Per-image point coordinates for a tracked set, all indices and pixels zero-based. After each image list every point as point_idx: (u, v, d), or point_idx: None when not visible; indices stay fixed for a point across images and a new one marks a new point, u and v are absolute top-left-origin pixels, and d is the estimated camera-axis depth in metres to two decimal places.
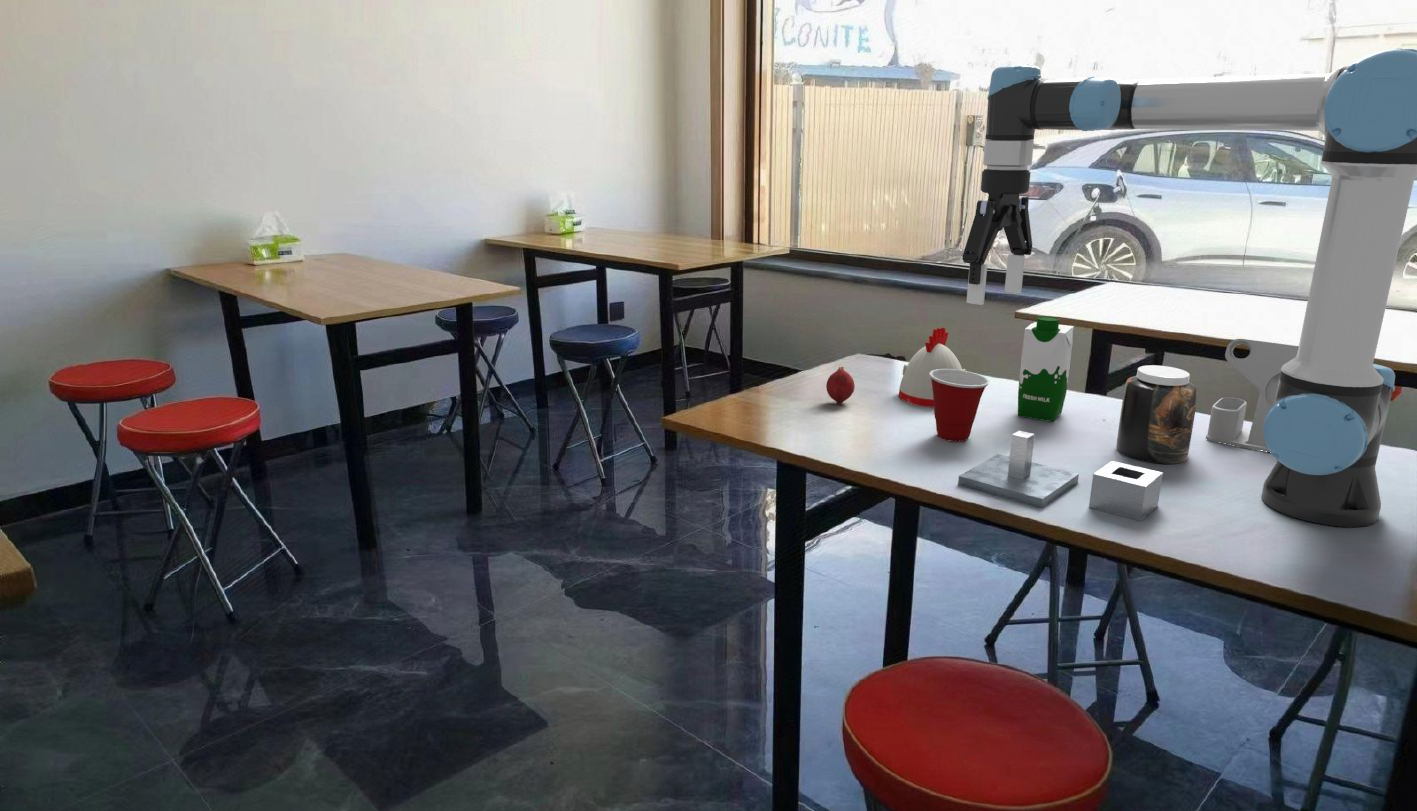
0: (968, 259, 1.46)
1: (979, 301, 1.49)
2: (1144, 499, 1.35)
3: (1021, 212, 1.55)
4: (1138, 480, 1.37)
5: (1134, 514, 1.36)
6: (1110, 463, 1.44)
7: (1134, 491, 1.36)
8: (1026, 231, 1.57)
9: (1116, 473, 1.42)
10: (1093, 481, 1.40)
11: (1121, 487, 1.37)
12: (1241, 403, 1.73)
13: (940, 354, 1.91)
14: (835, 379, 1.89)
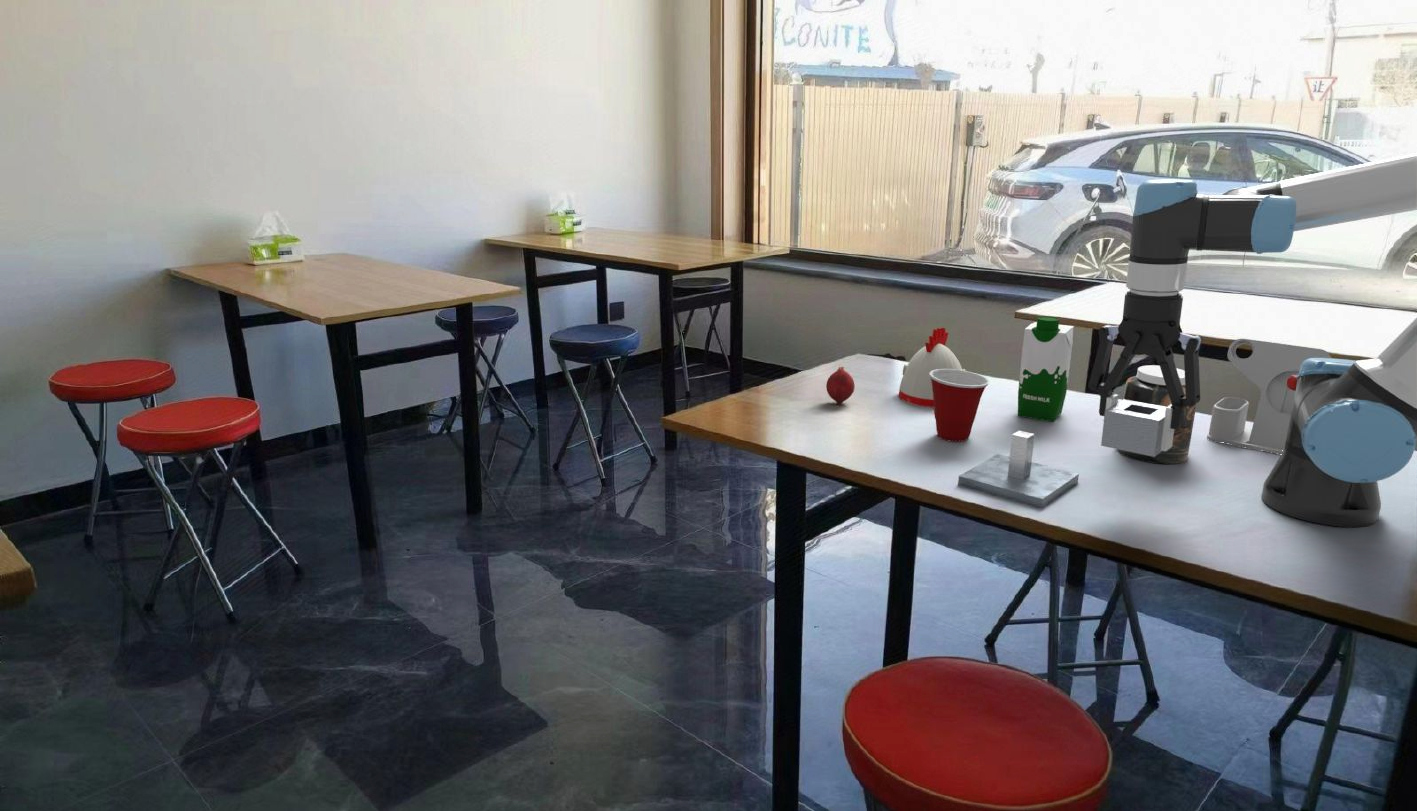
0: None
1: None
2: (1158, 434, 1.32)
3: None
4: (1151, 415, 1.34)
5: (1148, 450, 1.33)
6: (1122, 401, 1.40)
7: (1147, 426, 1.32)
8: (1185, 379, 1.30)
9: (1128, 410, 1.38)
10: (1105, 418, 1.36)
11: (1133, 422, 1.34)
12: (1243, 403, 1.73)
13: (940, 354, 1.91)
14: (835, 379, 1.89)
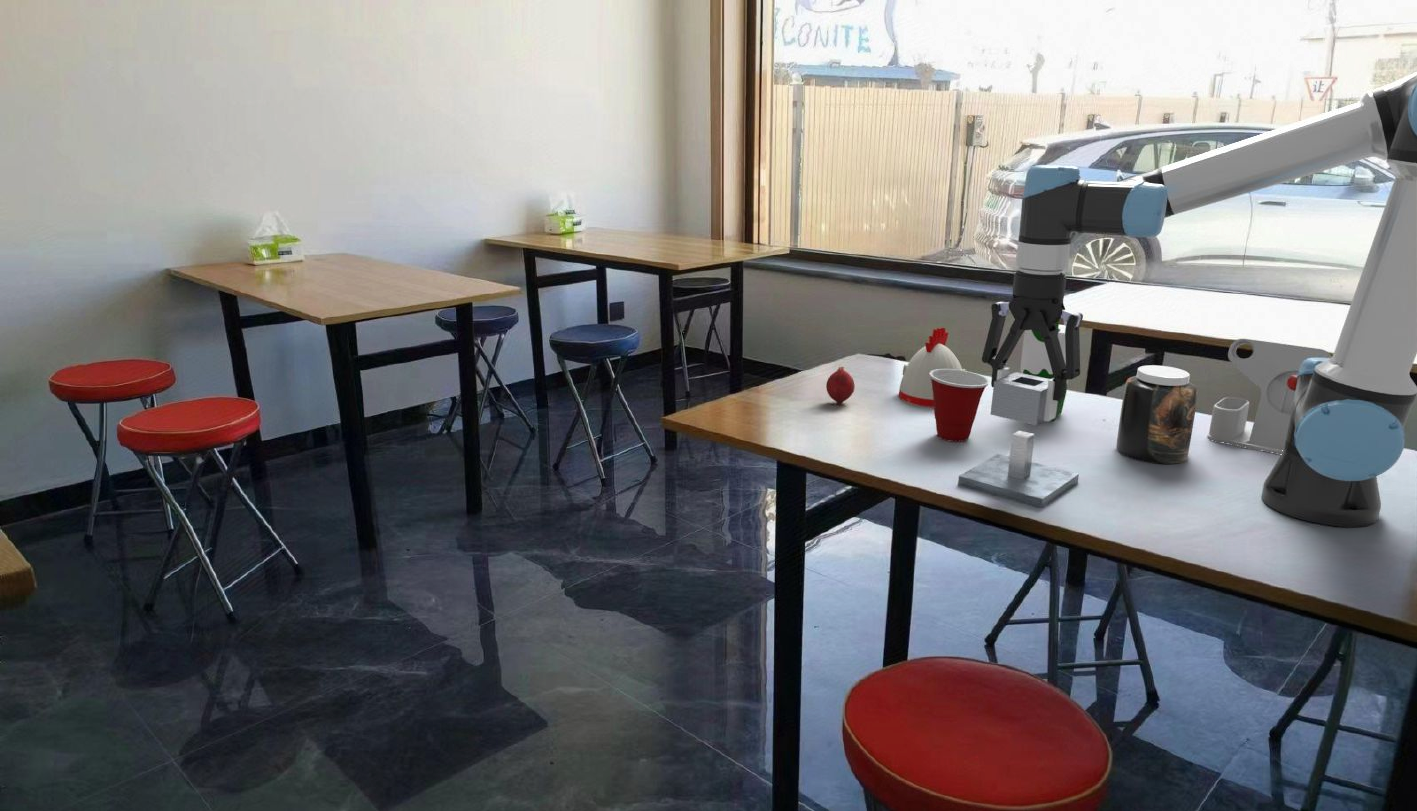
0: None
1: None
2: (1040, 404, 1.41)
3: None
4: (1035, 386, 1.42)
5: (1031, 419, 1.42)
6: (1013, 374, 1.49)
7: (1031, 396, 1.41)
8: (1066, 353, 1.39)
9: (1017, 382, 1.47)
10: (994, 388, 1.45)
11: (1019, 393, 1.42)
12: (1244, 403, 1.73)
13: (940, 354, 1.91)
14: (835, 379, 1.89)
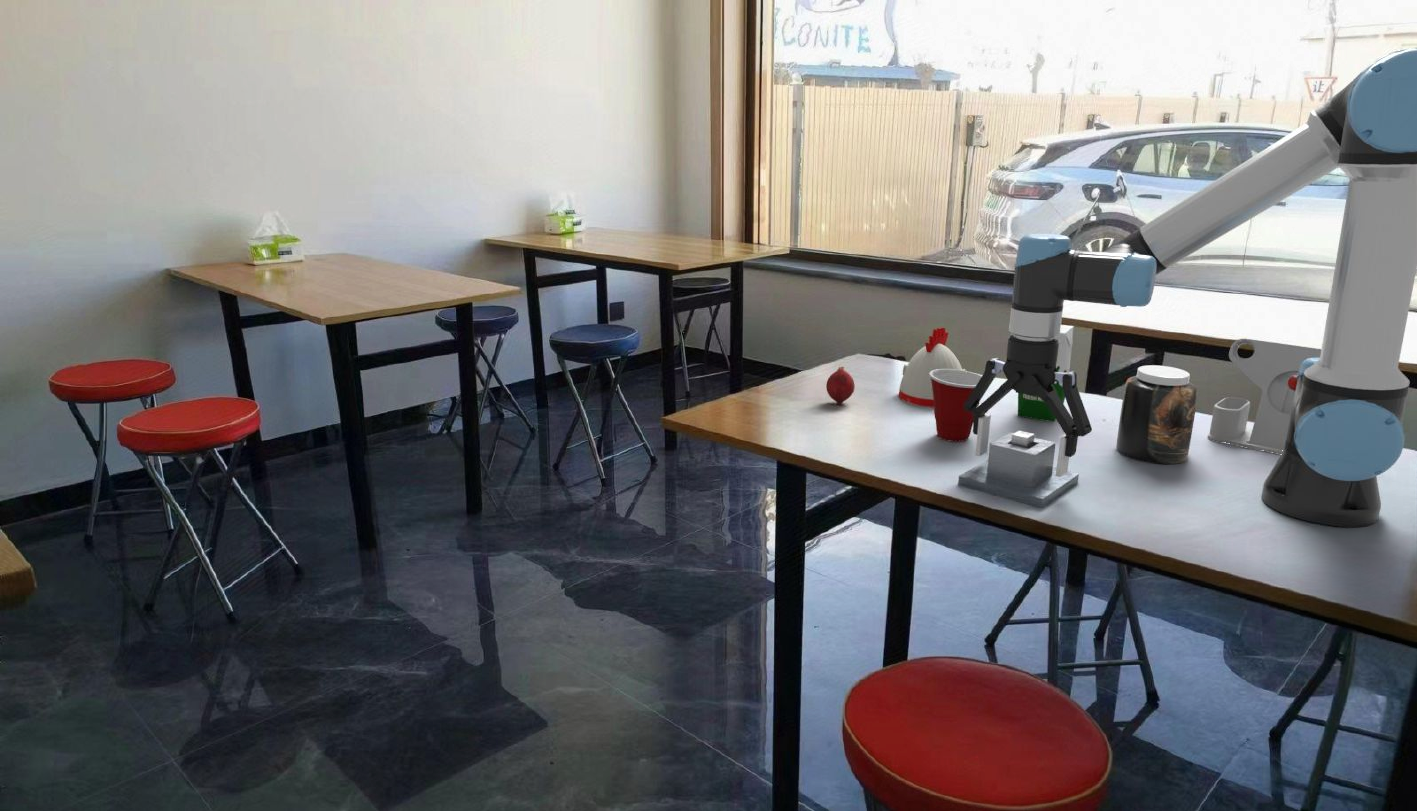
0: None
1: None
2: (1035, 467, 1.44)
3: None
4: (1030, 449, 1.45)
5: (1026, 481, 1.45)
6: (1008, 434, 1.52)
7: (1025, 459, 1.44)
8: (1071, 412, 1.40)
9: None
10: (990, 451, 1.48)
11: (1014, 455, 1.45)
12: (1245, 403, 1.73)
13: (940, 354, 1.91)
14: (835, 379, 1.89)
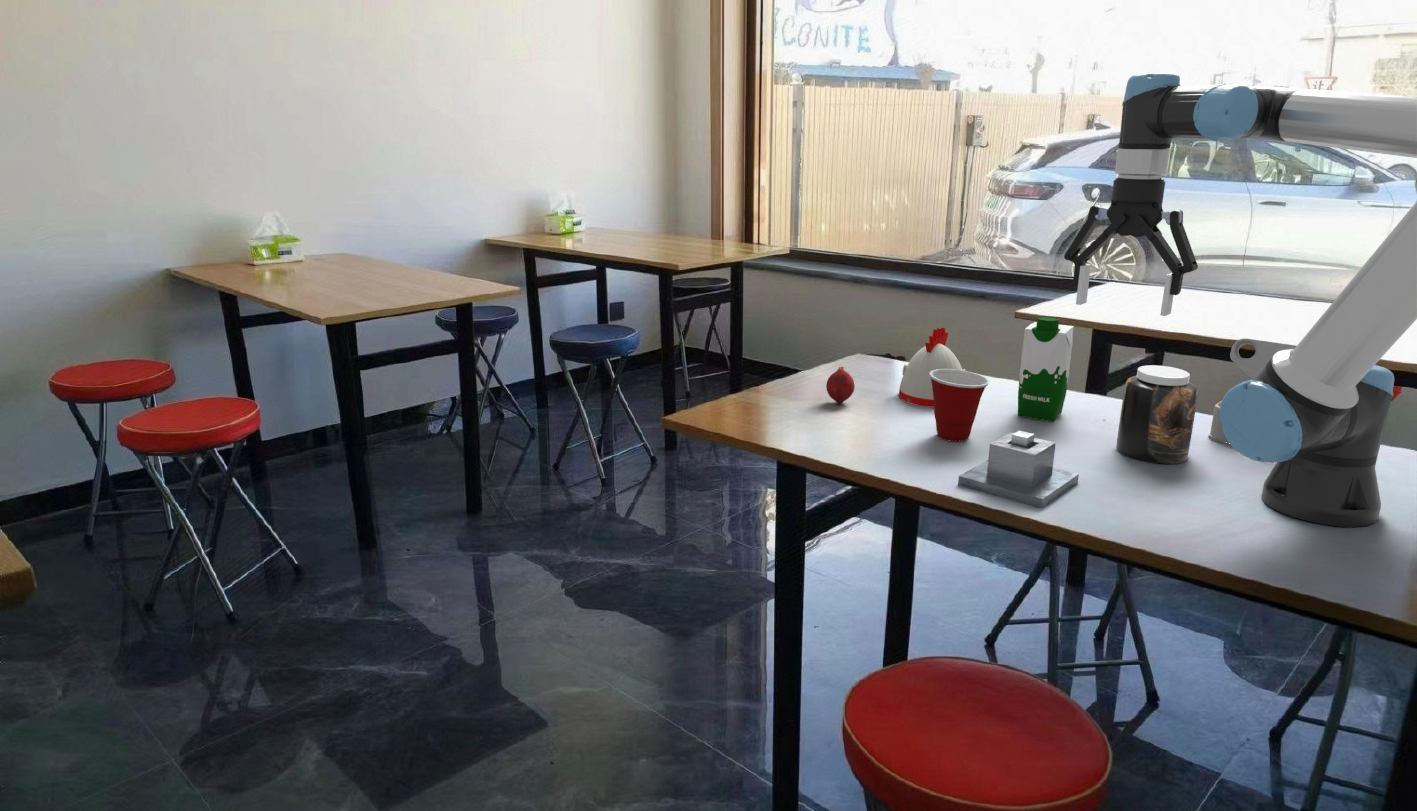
0: None
1: None
2: (1035, 467, 1.44)
3: None
4: (1030, 449, 1.45)
5: (1026, 481, 1.45)
6: (1008, 434, 1.52)
7: (1025, 459, 1.44)
8: (1178, 249, 1.44)
9: None
10: (990, 451, 1.48)
11: (1014, 455, 1.45)
12: None
13: (940, 354, 1.91)
14: (835, 379, 1.89)
